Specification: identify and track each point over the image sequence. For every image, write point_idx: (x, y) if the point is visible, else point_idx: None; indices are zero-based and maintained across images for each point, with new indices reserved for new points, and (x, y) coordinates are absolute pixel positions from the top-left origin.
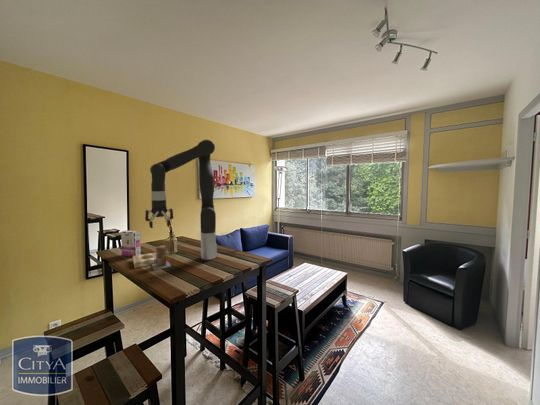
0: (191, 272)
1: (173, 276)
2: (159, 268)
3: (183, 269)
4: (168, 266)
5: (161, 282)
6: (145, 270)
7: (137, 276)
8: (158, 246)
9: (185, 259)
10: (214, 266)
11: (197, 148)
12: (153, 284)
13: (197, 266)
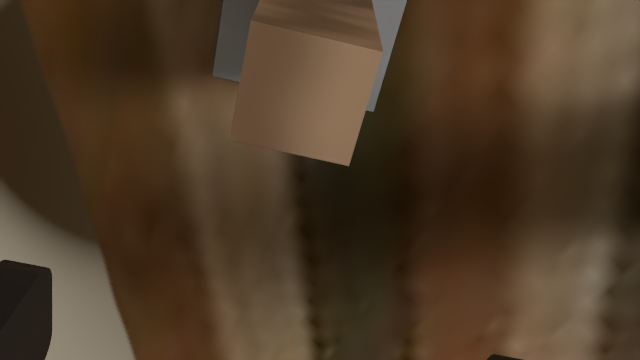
0: (422, 314)
1: (291, 290)
2: None
3: (416, 231)
4: None
5: (190, 316)
6: (146, 14)
7: (61, 107)
8: (280, 59)
9: (608, 4)
10: (614, 335)
11: None
12: (139, 309)
13: (534, 253)
